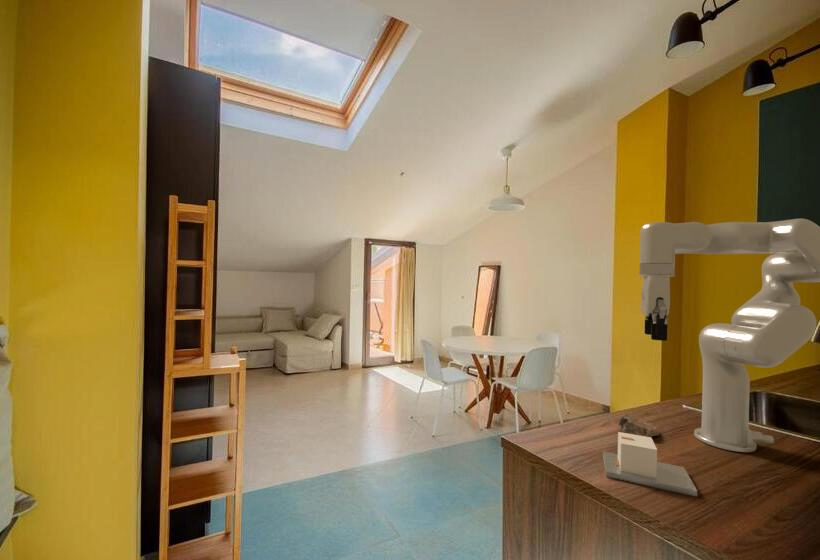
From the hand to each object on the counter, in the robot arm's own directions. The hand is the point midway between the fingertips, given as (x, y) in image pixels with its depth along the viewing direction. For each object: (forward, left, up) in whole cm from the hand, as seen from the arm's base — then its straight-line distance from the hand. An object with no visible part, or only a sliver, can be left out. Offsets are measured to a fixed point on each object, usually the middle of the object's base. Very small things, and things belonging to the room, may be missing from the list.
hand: (655, 337), depth 94 cm
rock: (+2, -8, -29) cm, 30 cm away
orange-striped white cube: (+6, +17, -27) cm, 32 cm away
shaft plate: (+4, +17, -28) cm, 33 cm away
